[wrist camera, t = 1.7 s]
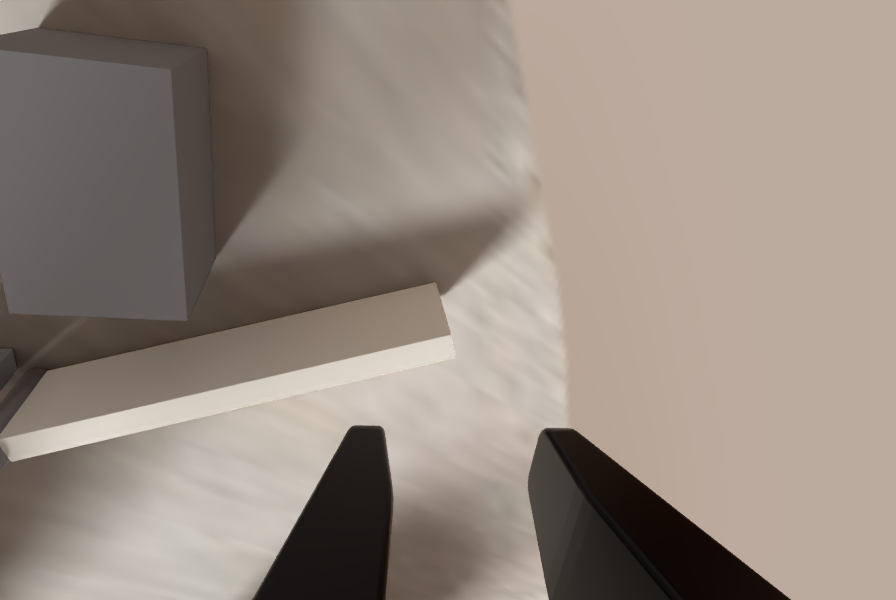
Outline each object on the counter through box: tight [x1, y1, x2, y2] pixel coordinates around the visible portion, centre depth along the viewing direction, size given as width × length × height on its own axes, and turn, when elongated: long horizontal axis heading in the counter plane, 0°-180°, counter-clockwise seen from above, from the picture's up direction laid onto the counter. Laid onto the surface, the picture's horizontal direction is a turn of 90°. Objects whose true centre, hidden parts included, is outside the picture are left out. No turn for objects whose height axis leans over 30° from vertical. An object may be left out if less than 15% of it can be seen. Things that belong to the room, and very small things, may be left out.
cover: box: [0, 282, 456, 469], centre depth 18 cm, size 14×1×4 cm, turn 100°
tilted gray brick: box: [0, 28, 216, 321], centre depth 15 cm, size 6×4×4 cm, turn 172°
